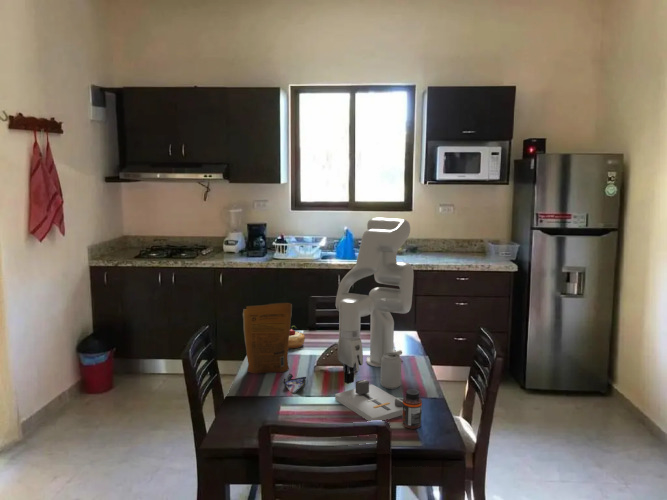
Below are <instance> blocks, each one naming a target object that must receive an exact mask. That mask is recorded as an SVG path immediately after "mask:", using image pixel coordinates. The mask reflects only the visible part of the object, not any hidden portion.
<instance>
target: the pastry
mask: <svg viewBox="0 0 667 500" xmlns="http://www.w3.org/2000/svg"><path fill="white" fill-rule="evenodd" d="M293 327H294V328H296V326H295V325H292V326H291V328H290V334H289V340H288V350H291V349H298V348H301V347H303V345H304V343H305V339H306V336H305V334H304V333H302V332H299V331H296V330H294V329H293Z"/></svg>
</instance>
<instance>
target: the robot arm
mask: <svg viewBox="0 0 667 500" xmlns="http://www.w3.org/2000/svg"><path fill="white" fill-rule="evenodd" d="M366 226H367V227H366V228H367V230H365V231H364V232H363V234H362V237H361V241H360V245H359V250H358V255H357V258H356V262H355V265H354V267H353V268H352V269H350V270H349V271H348V272H347V273H346V274H345V275H344V277H343V278H342V279H341V280H340V283H339V285H338V289H337V292H336V297H335V307H336V310H337V311H338V312H339V315H338V316H339V318H338V319H339V321H338V324H339V326H338V328H339V329H338V341H337V342H338V343H337V360H338V361H339V363H340V364H341V365H342V369H343V372H344V374H343V375H344V379H343V382H344V384H347V385H349V384H352V383H354V382H355V373H356V372H358V371H360V366H363V364H364V355H363V354H364V353H363V352H364V351H363V343H362V339H361V318H362V317H363V318H364V317H367V316H369V315H370V330H369V331H370V333H369V334H370V335H369V336H370V337H369V338H370V340H369V341H370V342H369V344H370V345H369V351H370V353H369V356H367V357H366V363H367V365H369V366H371V367H375V368H381V358H382V357H383V354H385V353H397V354H399V355H400V356H402V355H403V350H402V349H399V350H396V349H394V339H395V338H394V335H395V333H394V332H395V331H394V330H395V321H394V318H393V316H392V314H391V313H394V314H395V313H396V314H408V313H409V312H410V311H411V309H412V304H413V303H412V302H413V291H414V289H413V288H414V279H415V278H414V268H413V266H412V265H411V264H410V263H408V262H402V261H397V255H398V251H400V249H401V247H402V246H403V245H404V243H405V242H406V241H407V239H409V237H410V233H411V225H410V222H409V221H408V220H407V219H405V218H404V219H403V218H390V217H373V218H370V219H369V220H368V221H367V223H366ZM372 275H374V276H373V277H374V281H375V282H376V283H378V284H381V285H382V284H383V285H388V286H397V287H399V288H393V287H385V286H384V287H381V286H377V287H374V288H372V289H371V290H370V291H369V293H368V295H367V294H360V293H350V292H349V291H350V288H351V287H352V285H354V284H355V283H357V281H359V280H361V279H364V278H367V277H370V276H372Z"/></svg>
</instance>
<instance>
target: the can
mask: <svg viewBox="0 0 667 500" xmlns="http://www.w3.org/2000/svg"><path fill="white" fill-rule="evenodd" d="M380 384H381V386H383V388H385V389H388V390H394V389H398V388H399V387H400V386H401V385H402V358H401V355H399V354H397V353H385V354H383V357H382V358H381V367H380Z"/></svg>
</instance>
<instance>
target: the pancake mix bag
mask: <svg viewBox="0 0 667 500" xmlns="http://www.w3.org/2000/svg"><path fill="white" fill-rule="evenodd" d="M292 311H293V304H292V303H290V302H275V303H268V304H261V305H259V304H258V305H246V306H245V308H243V310H242V320H243V324H242V325H243V326H242V327H243V335H244V345H245V350H246V351H245V352H246V357H247V363H248V366H247V372H248V373H251V374H256V375H257V374H258V375H259V374H271V373H284V372H286V371H288V370H289V369H290V366H289V362H288V361H289V360H288V353H289V349H288V340H289V334H290V329H291V324H292V323H291V322H292V321H291V319H292V316H293V315H292Z"/></svg>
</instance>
